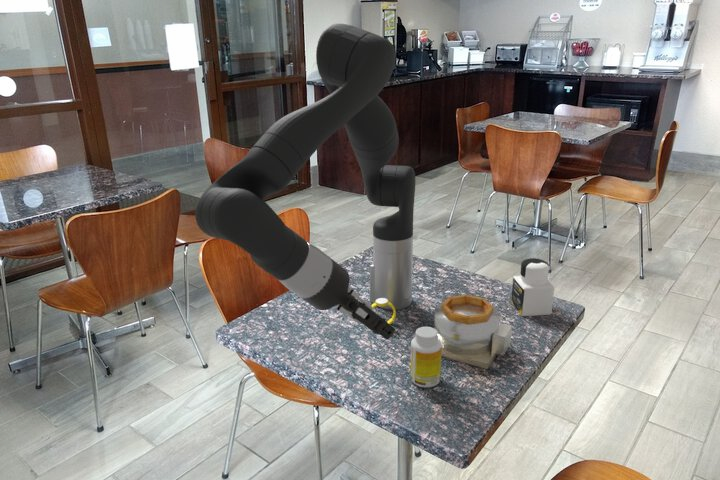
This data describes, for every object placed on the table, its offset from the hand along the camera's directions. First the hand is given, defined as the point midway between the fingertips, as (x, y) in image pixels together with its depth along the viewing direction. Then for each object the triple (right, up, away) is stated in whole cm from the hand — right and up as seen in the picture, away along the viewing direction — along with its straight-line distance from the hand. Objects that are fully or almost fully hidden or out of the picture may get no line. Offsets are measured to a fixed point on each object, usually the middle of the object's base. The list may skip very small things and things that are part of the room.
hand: (377, 323), depth 92 cm
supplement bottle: (+9, -12, +10) cm, 18 cm away
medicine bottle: (+37, -2, +36) cm, 52 cm away
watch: (+2, -5, +30) cm, 31 cm away
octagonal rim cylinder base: (+19, -8, +22) cm, 30 cm away
